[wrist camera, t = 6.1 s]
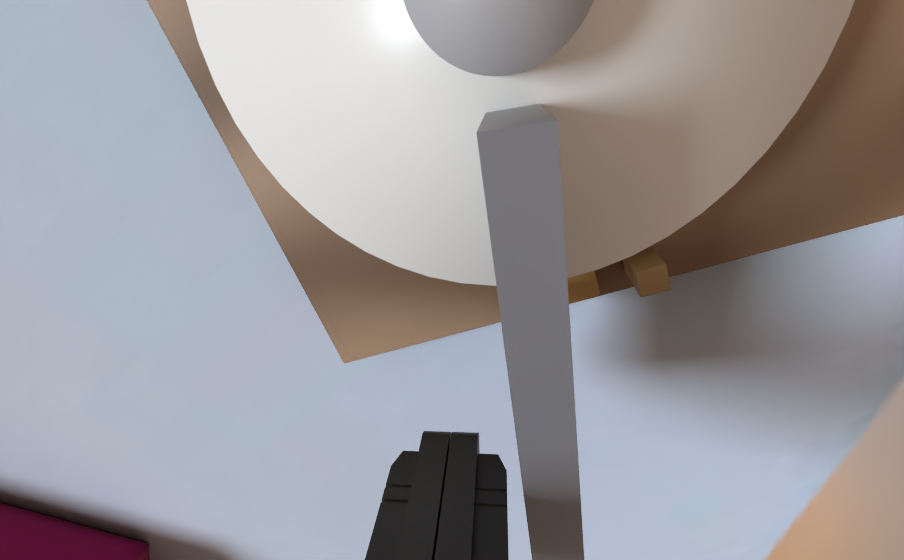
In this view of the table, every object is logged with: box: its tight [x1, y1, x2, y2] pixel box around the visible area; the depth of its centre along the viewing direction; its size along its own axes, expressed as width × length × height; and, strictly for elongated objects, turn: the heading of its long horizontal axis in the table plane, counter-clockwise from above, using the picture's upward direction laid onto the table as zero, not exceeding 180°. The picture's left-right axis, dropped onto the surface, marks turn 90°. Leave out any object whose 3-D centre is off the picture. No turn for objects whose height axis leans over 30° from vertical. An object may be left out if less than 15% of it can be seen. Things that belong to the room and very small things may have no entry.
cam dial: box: [186, 0, 855, 560], centre depth 9 cm, size 20×14×6 cm
